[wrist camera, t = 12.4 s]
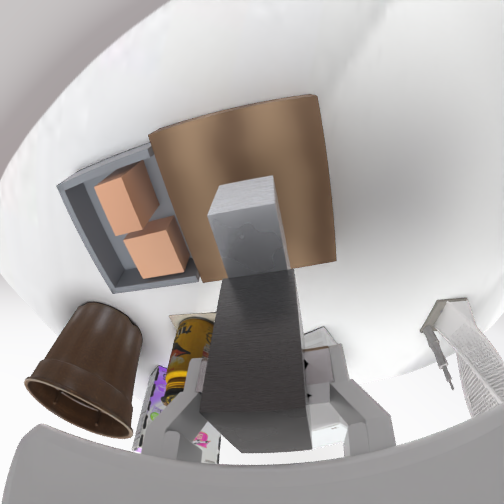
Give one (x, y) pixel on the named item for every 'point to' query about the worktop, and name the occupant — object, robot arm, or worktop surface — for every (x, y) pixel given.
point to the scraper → (256, 327)
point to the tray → (101, 233)
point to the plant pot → (91, 371)
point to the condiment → (187, 348)
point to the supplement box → (324, 415)
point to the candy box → (156, 404)
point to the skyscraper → (467, 354)
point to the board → (251, 174)
